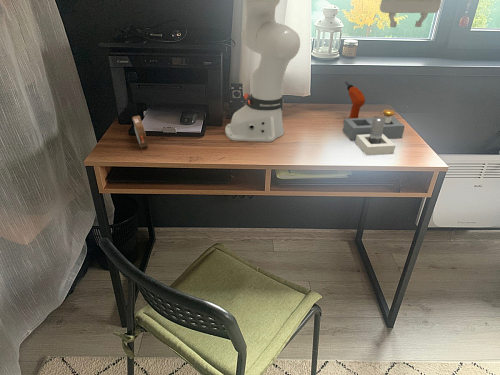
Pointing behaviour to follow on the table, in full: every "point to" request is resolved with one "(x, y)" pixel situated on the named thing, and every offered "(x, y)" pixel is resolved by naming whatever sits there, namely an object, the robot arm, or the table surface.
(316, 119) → the table surface
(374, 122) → the grey metal peg
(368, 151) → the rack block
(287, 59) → the robot arm
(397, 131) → the socket block
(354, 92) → the toy drill
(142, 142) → the tin
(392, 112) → the gold topped white cylinder
